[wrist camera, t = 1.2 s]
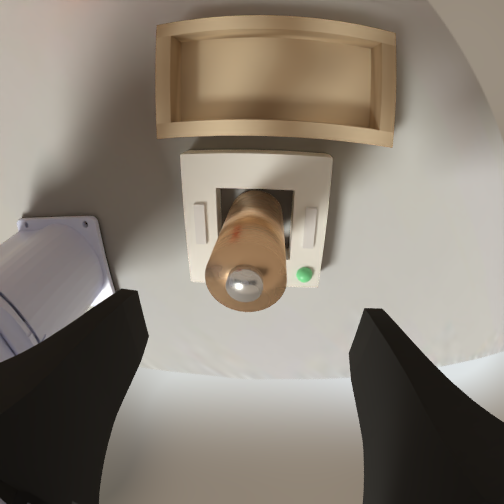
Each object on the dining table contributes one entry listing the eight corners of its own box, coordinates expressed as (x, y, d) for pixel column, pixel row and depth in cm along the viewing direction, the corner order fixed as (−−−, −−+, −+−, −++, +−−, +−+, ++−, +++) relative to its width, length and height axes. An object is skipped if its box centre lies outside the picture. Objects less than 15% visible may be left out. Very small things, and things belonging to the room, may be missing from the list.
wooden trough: (171, 134, 15) (156, 139, 13) (170, 34, 12) (156, 25, 10) (378, 142, 15) (392, 147, 13) (381, 40, 12) (395, 33, 10)
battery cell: (230, 238, 18) (205, 316, 12) (229, 189, 17) (198, 247, 10) (281, 240, 18) (284, 321, 11) (283, 191, 16) (290, 251, 10)
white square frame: (196, 269, 19) (189, 286, 18) (187, 150, 16) (177, 155, 14) (315, 274, 19) (318, 292, 17) (327, 153, 15) (334, 159, 13)
